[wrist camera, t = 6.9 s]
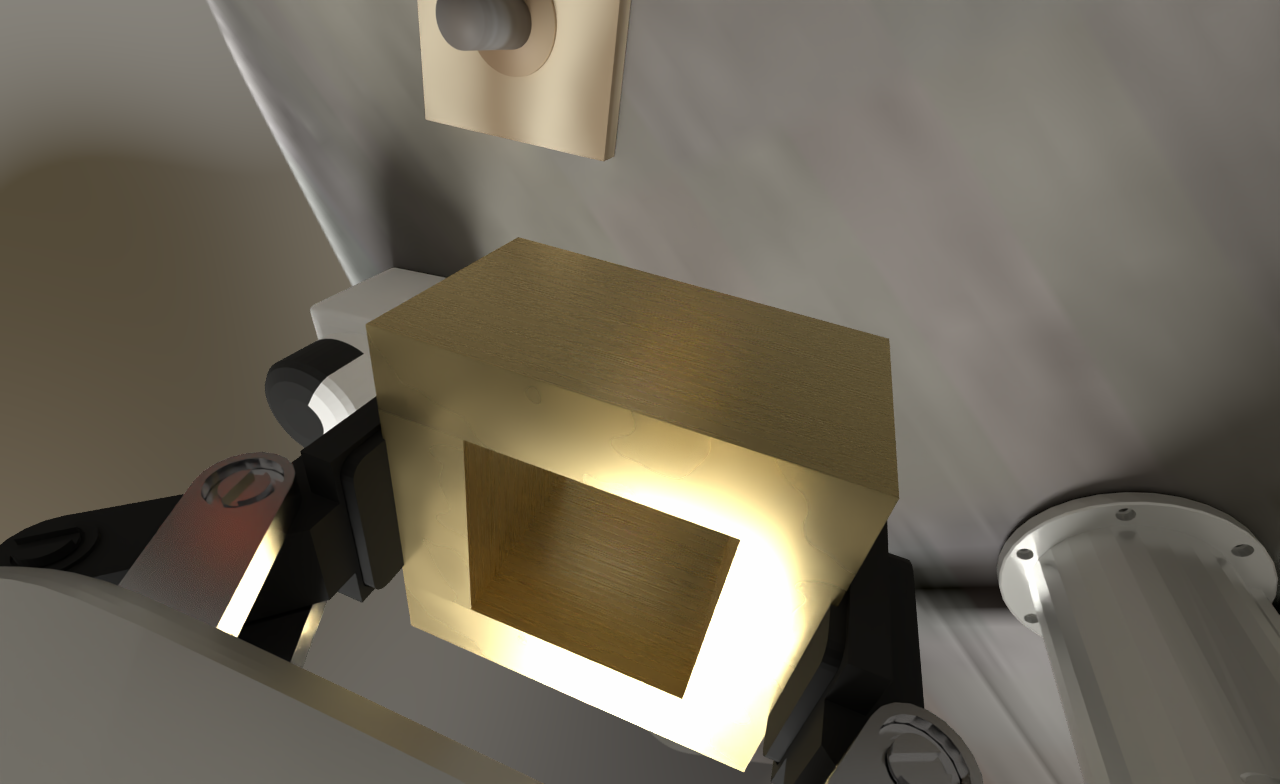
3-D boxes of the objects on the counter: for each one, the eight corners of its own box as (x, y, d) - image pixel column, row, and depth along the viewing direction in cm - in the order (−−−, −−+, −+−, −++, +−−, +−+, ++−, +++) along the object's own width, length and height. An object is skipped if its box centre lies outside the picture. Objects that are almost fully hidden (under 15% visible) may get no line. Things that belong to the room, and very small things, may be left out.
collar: (889, 338, 9) (899, 499, 6) (774, 592, 13) (743, 771, 10) (518, 236, 11) (365, 323, 7) (513, 494, 14) (411, 625, 11)
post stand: (642, -105, 25) (587, -140, 20) (614, 156, 31) (567, 177, 26) (428, -133, 27) (332, -170, 22) (441, 116, 33) (369, 129, 29)
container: (410, 359, 45) (269, 456, 34) (392, 265, 40) (225, 343, 30) (497, 380, 43) (375, 490, 32) (487, 283, 38) (343, 374, 28)
